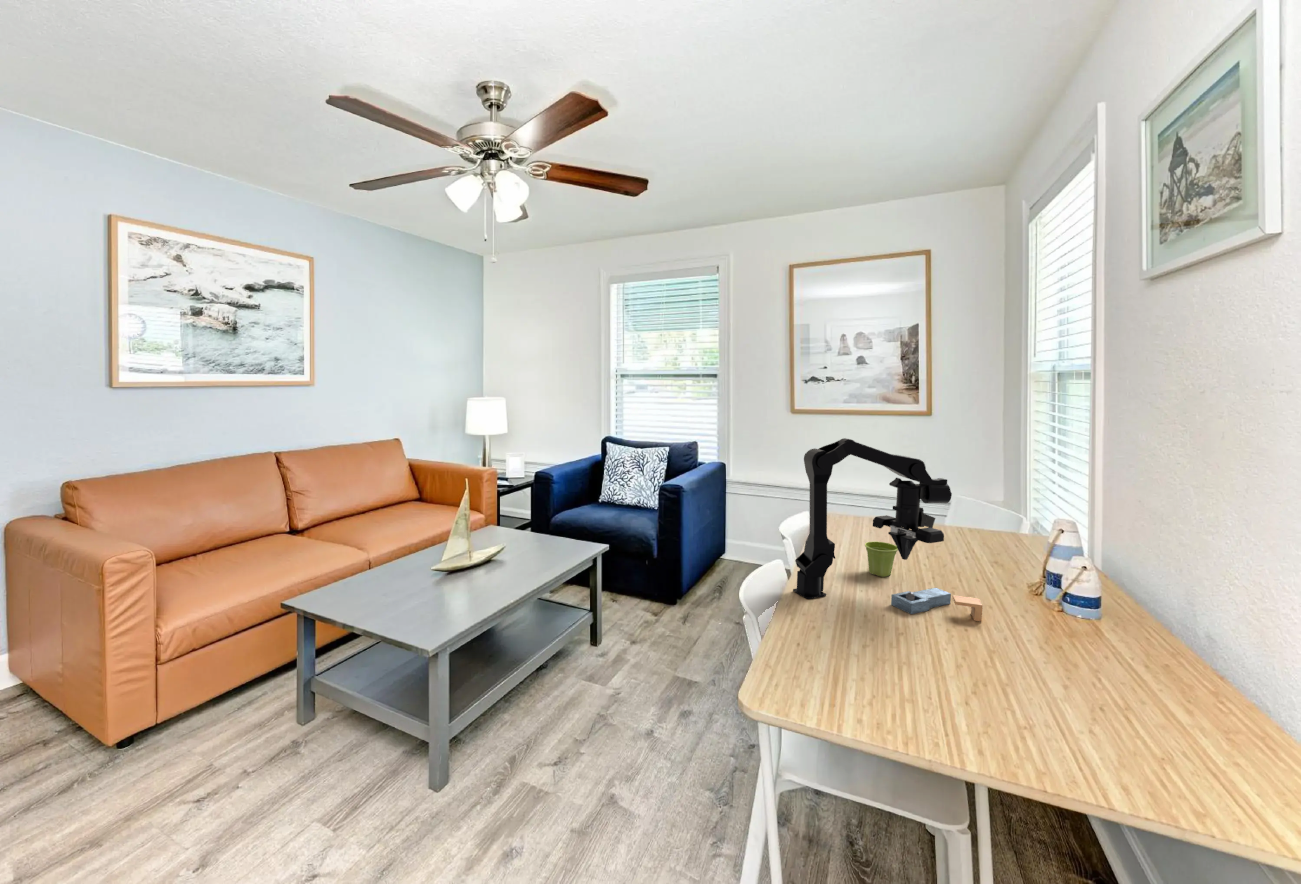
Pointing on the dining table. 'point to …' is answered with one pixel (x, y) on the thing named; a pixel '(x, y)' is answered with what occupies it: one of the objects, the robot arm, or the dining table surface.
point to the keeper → (970, 605)
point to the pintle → (910, 596)
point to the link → (921, 600)
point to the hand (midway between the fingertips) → (904, 559)
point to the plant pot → (880, 557)
